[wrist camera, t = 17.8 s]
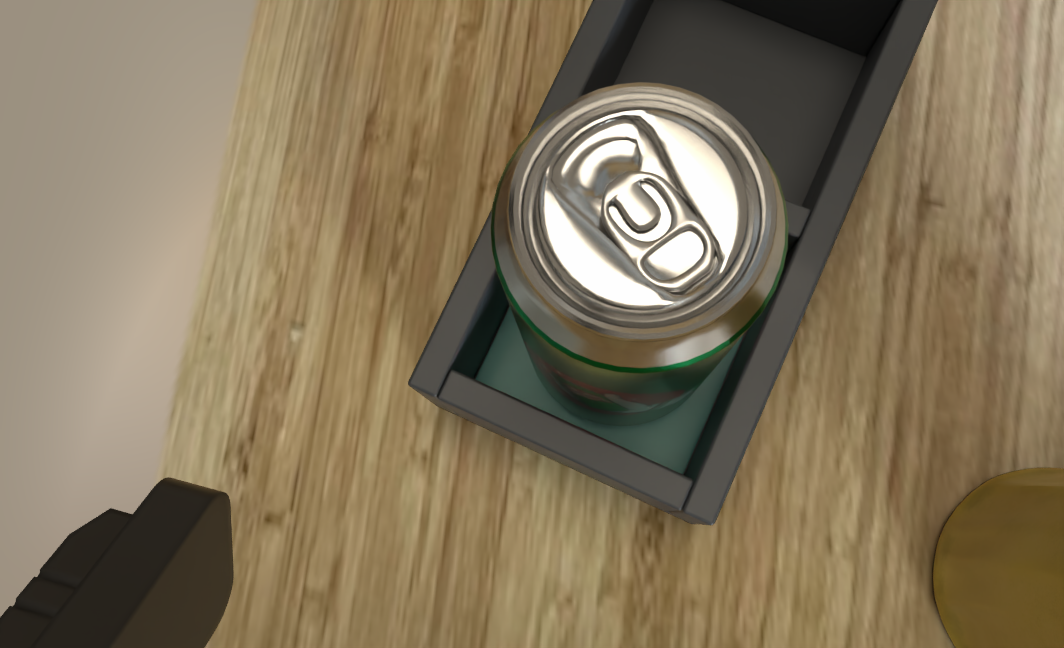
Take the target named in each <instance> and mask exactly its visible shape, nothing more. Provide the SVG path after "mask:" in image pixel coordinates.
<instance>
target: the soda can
mask: <svg viewBox="0 0 1064 648" xmlns="http://www.w3.org/2000/svg"><path fill="white" fill-rule="evenodd" d="M788 226H789V224H788V216H787V208H786V201H785V198H784V195H783V191H782V188H781V185H780V181H779V179H778V177H777V175H776V173H775V171H774V169H773V167H772V164H771V162H770V160H769V159H768V157H767V156H766V154H765V153H764V152H763V150H762V149H761V147H760V146H759V144H758V143H757V142H756V141H755V139H754V138H753V137H752V136H751V135H750V134H749V132H748V131H747V130H746V129H745V128H744V127H743V126H742V125H741V124H740V123H739V122H738V121H737V120H736V119H735V118H734V117H733V116H732V115H731V114H730V113H728V112H727V111H726V110H724V109H723V108H722V107H720V106H719V105H718V104H716V103H714V102H712V101H710V100H709V99H707V98H705V97H703V96H701V95H699V94H697V93H694V92H691V91H688V90H686V89H683V88H680V87H676V86H671V85H666V84H661V83H645V82H636V83H626V84H617V85H613V86H609V87H605V88H601V89H598V90H595V91H593V92H590V93H588V94H586V95H583V96H581V97H579V98H577V99H575V100H574V101H572V102H570V103H569V104H567V105H565V106H564V107H562V108H561V109H559V110H558V111H556V112H554V113H553V114H551V115H550V116H549V117H547V118H546V119H545V120H544V121H543V122H541V123H540V124H539V125H538V126H536V127H535V128H534V129H533V130H532V131H531V132H530V134H529V135H528V136H527V137H526V138H525V139H524V140H523V141H522V143H521V144H520V145H519V146H518V148H517V149H516V151H515V152H514V154H513V155H512V157H511V159H510V160H509V162H508V163H507V165H506V167H505V170H504V172H503V174H502V176H501V179H500V181H499V183H498V186H497V190H496V194H495V198H494V202H493V206H492V216H491V227H490V231H491V245H492V254H493V258H494V262H495V266H496V270H497V274H498V277H499V279H500V282H501V284H502V287H503V290H504V292H505V295H506V297H507V300H508V303H509V305H510V308H511V310H512V313H513V316H514V318H515V321H516V323H517V326H518V329H519V331H520V334H521V337H522V339H523V342H524V344H525V347H526V350H527V352H528V355H529V357H530V360H531V363H532V365H533V367H534V370H535V372H536V374H537V376H538V378H539V380H540V381H541V383H542V384H543V386H544V388H545V389H546V390H547V391H548V392H549V393H550V395H551V396H552V397H553V398H554V399H555V400H556V401H557V402H559V403H560V404H561V405H562V406H563V407H564V408H566V409H567V410H569V411H571V412H572V413H574V414H576V415H577V416H579V417H582V418H584V419H587V420H589V421H591V422H595V423H599V424H604V425H611V426H632V425H639V424H643V423H648V422H652V421H654V420H656V419H659V418H661V417H663V416H666V415H667V414H669V413H670V412H672V411H674V410H675V409H677V408H678V407H679V406H681V405H682V404H683V403H684V402H685V401H686V400H687V399H689V398H690V396H691V395H692V394H693V393H694V392H695V391H696V389H697V388H698V387H699V386H700V385H701V384H702V382H703V381H704V380H705V379H706V378H707V377H708V375H709V374H710V373H711V372H712V371H713V370H714V368H715V367H716V366H717V365H718V364H719V363H720V361H721V360H722V359H723V358H724V357H725V356H726V354H727V353H728V352H729V351H730V350H731V349H732V347H733V346H734V345H735V344H736V343H737V342H738V340H739V339H740V338H741V337H742V336H743V335H744V333H745V332H746V331H747V330H748V329H749V328H750V326H751V325H752V324H753V323H754V322H755V320H756V319H757V318H758V317H759V316H760V314H761V313H762V312H763V311H764V309H765V307H766V305H767V304H768V302H769V300H770V299H771V297H772V295H773V293H774V292H775V289H776V287H777V284H778V282H779V279H780V276H781V274H782V271H783V268H784V263H785V258H786V253H787V248H788Z"/></svg>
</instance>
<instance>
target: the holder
mask: <svg viewBox="0 0 1064 648" xmlns="http://www.w3.org/2000/svg"><path fill="white" fill-rule="evenodd" d="M937 2H938V0H593V1H592V4H591V6H590V8H589V10H588V12H587V14H586V16H585V18H584V20H583V22H582V24H581V26H580V28H579V30H578V32H577V34H576V37H575V39H574V41H573V43H572V45H571V47H570V49H569V51H568V53H567V55H566V57H565V59H564V61H563V63H562V65H561V67H560V70H559V72H558V74H557V76H556V78H555V80H554V82H553V84H552V86H551V88H550V90H549V92H548V94H547V96H546V98H545V101H544V103H543V105H542V107H541V109H540V111H539V113H538V115H537V117H536V119H535V121H534V123H533V125H532V127H531V129H530V131H529V134H530V132H531V131H532V130H533V129H534V128H535V127H536V126H538V125H539V124H540V123H541V122H543V121H544V120H545V119H546V118H547V117H549V116H550V115H551V114H553V113H554V112H556V111H558V110H559V109H561V108H562V107H564V106H565V105H567V104H569V103H570V102H572V101H574V100H575V99H577V98H579V97H581V96H583V95H586V94H588V93H590V92H593V91H595V90H598V89H601V88H605V87H609V86H613V85H617V84H626V83H636V82H645V83H661V84H666V85H671V86H676V87H680V88H683V89H686V90H688V91H691V92H694V93H697V94H699V95H701V96H703V97H705V98H707V99H709V100H710V101H712V102H714V103H716V104H718V105H719V106H720V107H722V108H723V109H724V110H726V111H727V112H728V113H730V114H731V115H732V116H733V117H734V118H735V119H736V120H737V121H738V122H739V123H740V124H741V125H742V126H743V127H744V128H745V129H746V130H747V131H748V132H749V134H750V135H751V136H752V137H753V138H754V139H755V141H756V142H757V143H758V144H759V146H760V147H761V149H762V150H763V152H764V153H765V154H766V156H767V157H768V159H769V160H770V162H771V164H772V167H773V169H774V171H775V173H776V175H777V177H778V179H779V181H780V185H781V188H782V191H783V195H784V198H785V201H786V208H787V216H788V224H789V226H788V248H787V253H786V258H785V263H784V268H783V271H782V274H781V276H780V279H779V282H778V284H777V287H776V289H775V292H774V293H773V295H772V297H771V299H770V300H769V302H768V304H767V305H766V307H765V309H764V311H763V312H762V313H761V314H760V316H759V317H758V318H757V319H756V320H755V322H754V323H753V324H752V325H751V326H750V328H749V329H748V330H747V331H746V332H745V333H744V335H743V336H742V337H741V338H740V339H739V340H738V342H737V343H736V344H735V345H734V346H733V347H732V349H731V350H730V351H729V352H728V353H727V354H726V356H725V357H724V358H723V359H722V360H721V361H720V363H719V364H718V365H717V366H716V367H715V368H714V370H713V371H712V372H711V373H710V374H709V375H708V377H707V378H706V379H705V380H704V381H703V382H702V384H701V385H700V386H699V387H698V388H697V389H696V391H695V392H694V393H693V394H692V395H691V396H690V398H689V399H687V400H686V401H685V402H684V403H683V404H682V405H681V406H679V407H678V408H677V409H675V410H674V411H672V412H670V413H669V414H667V415H666V416H663V417H661V418H659V419H656V420H654V421H652V422H648V423H643V424H639V425H632V426H611V425H604V424H599V423H595V422H591V421H589V420H587V419H584V418H582V417H579V416H577V415H576V414H574V413H572V412H571V411H569V410H567V409H566V408H564V407H563V406H562V405H561V404H560V403H559V402H557V401H556V400H555V399H554V398H553V397H552V396H551V395H550V393H549V392H548V391H547V390H546V389H545V388H544V386H543V384H542V383H541V381H540V380H539V378H538V376H537V374H536V372H535V370H534V367H533V365H532V363H531V360H530V357H529V355H528V352H527V350H526V347H525V344H524V342H523V339H522V337H521V334H520V331H519V329H518V326H517V323H516V321H515V318H514V316H513V313H512V310H511V308H510V305H509V303H508V300H507V297H506V295H505V292H504V290H503V287H502V284H501V282H500V279H499V277H498V274H497V270H496V266H495V262H494V258H493V254H492V245H491V231H490V227H491V216H492V210H491V212H490V214H489V216H488V218H487V220H486V222H485V224H484V226H483V228H482V230H481V233H480V235H479V237H478V239H477V241H476V243H475V245H474V247H473V249H472V251H471V253H470V255H469V257H468V259H467V261H466V264H465V266H464V268H463V270H462V272H461V274H460V276H459V278H458V280H457V282H456V284H455V286H454V288H453V290H452V292H451V294H450V297H449V299H448V301H447V303H446V305H445V307H444V309H443V311H442V313H441V315H440V317H439V319H438V321H437V323H436V325H435V327H434V330H433V332H432V334H431V336H430V338H429V340H428V342H427V344H426V346H425V348H424V350H423V352H422V354H421V356H420V358H419V360H418V363H417V365H416V367H415V369H414V371H413V373H412V375H411V377H410V379H409V381H408V385H409V386H410V387H412V388H413V389H414V390H416V391H417V392H419V393H420V394H421V395H423V396H424V397H426V398H427V399H428V400H430V401H431V402H433V403H434V404H435V405H436V406H439V407H441V408H443V409H445V410H447V411H449V412H451V413H454V414H456V415H458V416H460V417H462V418H464V419H467V420H469V421H471V422H473V423H475V424H477V425H479V426H482V427H484V428H486V429H488V430H490V431H492V432H495V433H497V434H499V435H501V436H503V437H505V438H507V439H510V440H512V441H514V442H516V443H518V444H520V445H523V446H525V447H527V448H529V449H531V450H533V451H535V452H538V453H540V454H542V455H544V456H546V457H548V458H551V459H553V460H555V461H557V462H559V463H561V464H563V465H566V466H568V467H570V468H572V469H574V470H576V471H579V472H581V473H583V474H585V475H587V476H589V477H591V478H594V479H596V480H598V481H600V482H602V483H604V484H607V485H609V486H611V487H613V488H615V489H617V490H619V491H622V492H624V493H626V494H628V495H630V496H632V497H635V498H637V499H639V500H641V501H643V502H645V503H647V504H650V505H652V506H654V507H656V508H658V509H660V510H663V511H665V512H667V513H669V514H671V515H673V516H675V517H678V518H680V519H682V520H684V521H686V522H688V523H691V524H703V525H713V524H714V523H715V522H716V519H717V517H718V515H719V512H720V510H721V507H722V505H723V503H724V500H725V498H726V496H727V493H728V491H729V489H730V486H731V484H732V482H733V479H734V477H735V475H736V472H737V470H738V468H739V465H740V463H741V461H742V458H743V456H744V454H745V451H746V449H747V447H748V444H749V442H750V440H751V437H752V435H753V433H754V430H755V428H756V426H757V423H758V421H759V419H760V416H761V414H762V411H763V409H764V407H765V404H766V402H767V400H768V397H769V395H770V393H771V390H772V388H773V386H774V383H775V381H776V379H777V376H778V374H779V372H780V369H781V367H782V365H783V362H784V360H785V358H786V355H787V353H788V351H789V348H790V346H791V344H792V341H793V339H794V337H795V334H796V332H797V330H798V327H799V325H800V322H801V320H802V318H803V315H804V313H805V311H806V308H807V306H808V304H809V301H810V299H811V297H812V294H813V292H814V290H815V287H816V285H817V283H818V280H819V278H820V276H821V273H822V271H823V269H824V266H825V264H826V262H827V259H828V257H829V255H830V252H831V250H832V248H833V245H834V243H835V241H836V238H837V236H838V234H839V231H840V229H841V226H842V224H843V222H844V219H845V217H846V215H847V212H848V210H849V208H850V205H851V203H852V201H853V198H854V196H855V194H856V191H857V189H858V187H859V184H860V182H861V180H862V177H863V175H864V173H865V170H866V168H867V166H868V163H869V161H870V159H871V156H872V154H873V152H874V149H875V147H876V145H877V142H878V140H879V138H880V135H881V133H882V130H883V128H884V126H885V123H886V121H887V119H888V116H889V114H890V112H891V109H892V107H893V105H894V102H895V100H896V98H897V95H898V93H899V91H900V88H901V86H902V84H903V81H904V79H905V77H906V74H907V72H908V70H909V67H910V65H911V63H912V60H913V58H914V56H915V53H916V51H917V49H918V46H919V44H920V42H921V39H922V37H923V34H924V32H925V30H926V27H927V25H928V23H929V20H930V18H931V16H932V13H933V11H934V9H935V6H936V4H937ZM529 134H528V135H529Z"/></svg>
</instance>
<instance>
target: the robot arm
mask: <svg viewBox="0 0 1064 648" xmlns="http://www.w3.org/2000/svg"><path fill="white" fill-rule="evenodd" d="M232 584H233V550H232V529H231V507H230V499H229V496H228V495H227V494H226V493H225V492H221V491H217V490H214V489H210V488H206V487H203V486H199V485H195V484H192V483H188V482H184V481H181V480H177V479H174V478H164V479H163V480H161V481H160V482H159V483H158V484H156V486H155V487H154V488H153V489H152V490H151V492H150V493H149V494H148V496H147V497H146V498H145V499H144V501H143V502H142V503H141V505H140V506H139V507H138V508H137V510H136V511H135V512H134V514H128V513H126V512H122V511H118V510H115V509H109V510H107V511H106V512H104V513H102V514H101V515H99V516H98V517H96V518H95V519H93V520H92V521H90V522H88V523H87V524H85V525H84V526H82V527H80V528H79V529H77V530H76V531H74V532H72V533H71V534H69V535H68V537H67V538H66V539H65V540H64V541H63V543H62V544H61V545H60V547H58V549H57V550H56V551H55V552H54V553H53V555H52V556H51V557H50V558H49V560H48V561H47V562H46V563H45V564H44V565H43V567H42V568H41V569H40V574H39V575H38V577H34V578H33V579H32V580H31V581H30V582H29V584H28V585H27V586H26V587H25V589H24V590H23V591H22V592H21V593H20V594H19V596H18V597H17V598H16V602H15V605H14V606H13V607H12V606H9V608H8V609H7V610H6V611H5V612H4V614H3V615H2V616H1V617H0V648H205V646H206V644H207V643H208V641H209V639H210V638H211V636H212V634H213V633H214V631H215V629H216V628H217V626H218V624H219V622H220V620H221V618H222V616H223V614H224V612H225V609H226V606H227V604H228V601H229V597H230V594H231V590H232Z"/></svg>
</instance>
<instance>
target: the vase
mask: <svg viewBox="0 0 1064 648" xmlns="http://www.w3.org/2000/svg"><path fill="white" fill-rule="evenodd" d="M933 585H934V594H935V600H936V603H937V607H938V611H939V614H940V617H941V620H942V622H943V625H944V627H945V629H946V631H947V633H948V635H949V637H950V639H951V641H952V642H953V644H954V646H955V647H956V648H1064V469H1062V468H1031V469H1023V470H1018V471H1013V472H1009V473H1006V474H1002V475H1000V476H997V477H995V478H992V479H990V480H988V481H987V482H985V483H984V484H982V485H980V486H979V487H978V488H976V489H975V490H974V491H973V492H971V493H970V494H969V495H968V496H967V497H966V498H965V499H964V500H963V501H962V502H961V503H960V505H959V506H958V507H957V508H956V509H955V511H954V512H953V513H952V515H951V516H950V518H949V519H948V521H947V523H946V524H945V526H944V529H943V531H942V533H941V535H940V538H939V541H938V544H937V549H936V554H935V560H934V569H933Z"/></svg>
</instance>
